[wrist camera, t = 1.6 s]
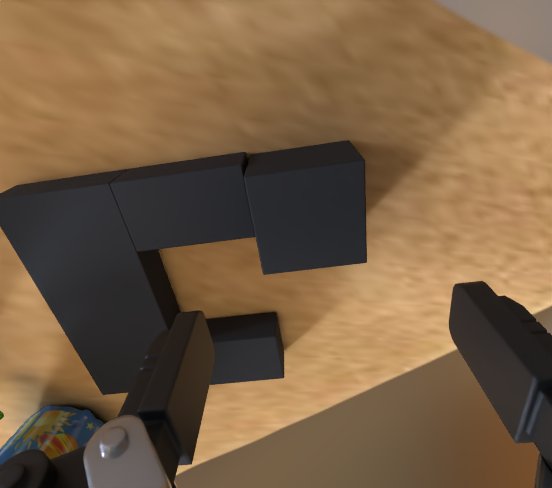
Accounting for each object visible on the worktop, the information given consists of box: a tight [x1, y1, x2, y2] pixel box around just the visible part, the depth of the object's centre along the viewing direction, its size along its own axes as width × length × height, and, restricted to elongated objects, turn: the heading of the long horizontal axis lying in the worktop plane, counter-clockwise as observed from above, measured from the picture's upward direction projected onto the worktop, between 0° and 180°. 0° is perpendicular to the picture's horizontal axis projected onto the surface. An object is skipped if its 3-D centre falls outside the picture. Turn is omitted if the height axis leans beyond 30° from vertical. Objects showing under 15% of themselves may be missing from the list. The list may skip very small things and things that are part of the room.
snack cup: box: [0, 405, 104, 465], centre depth 27 cm, size 16×10×10 cm
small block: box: [244, 141, 367, 275], centre depth 19 cm, size 6×6×4 cm
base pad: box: [0, 152, 284, 395], centre depth 22 cm, size 16×14×2 cm
